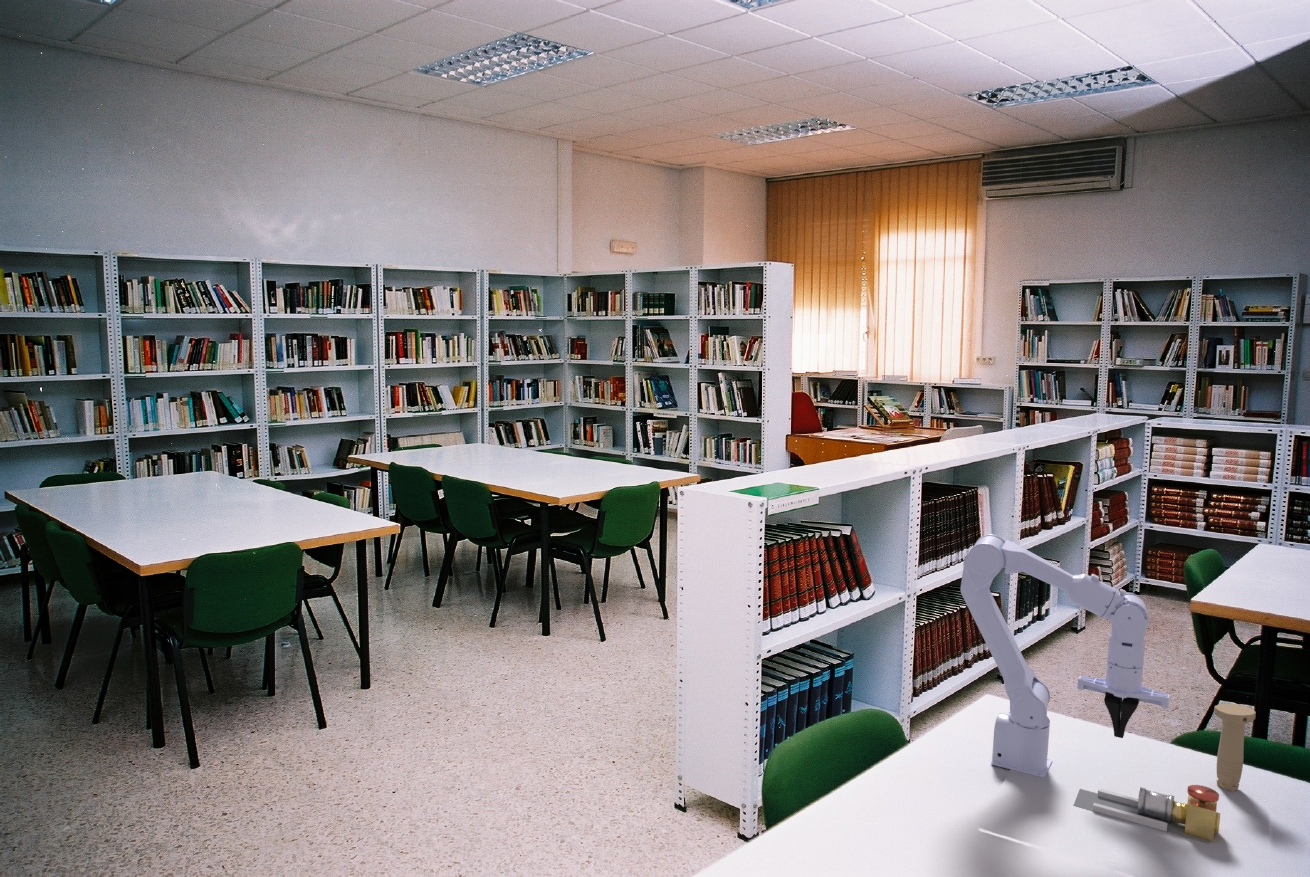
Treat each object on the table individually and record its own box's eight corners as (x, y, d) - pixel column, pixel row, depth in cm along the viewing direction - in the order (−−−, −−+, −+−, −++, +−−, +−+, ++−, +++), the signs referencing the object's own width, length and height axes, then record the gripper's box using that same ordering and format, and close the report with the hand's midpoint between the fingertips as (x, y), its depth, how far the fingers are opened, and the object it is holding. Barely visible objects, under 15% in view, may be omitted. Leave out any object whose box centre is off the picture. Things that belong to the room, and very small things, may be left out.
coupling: (1136, 814, 150) (1139, 788, 150) (1138, 811, 153) (1141, 785, 154) (1170, 824, 147) (1173, 797, 147) (1172, 820, 150) (1174, 794, 151)
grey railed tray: (1073, 807, 154) (1073, 799, 154) (1079, 790, 160) (1080, 783, 159) (1209, 845, 143) (1209, 837, 143) (1210, 826, 149) (1211, 818, 148)
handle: (1253, 794, 159) (1262, 714, 157) (1221, 796, 158) (1228, 715, 157) (1233, 781, 164) (1240, 703, 162) (1201, 782, 163) (1208, 704, 161)
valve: (1170, 829, 146) (1173, 790, 146) (1172, 816, 151) (1176, 778, 150) (1217, 843, 143) (1221, 803, 142) (1218, 828, 147) (1222, 789, 146)
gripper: (1076, 660, 160) (1071, 732, 162) (1169, 679, 152) (1162, 754, 153) (1083, 649, 166) (1078, 719, 167) (1173, 666, 158) (1166, 739, 159)
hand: (1119, 735), depth 161 cm, fingers closed
